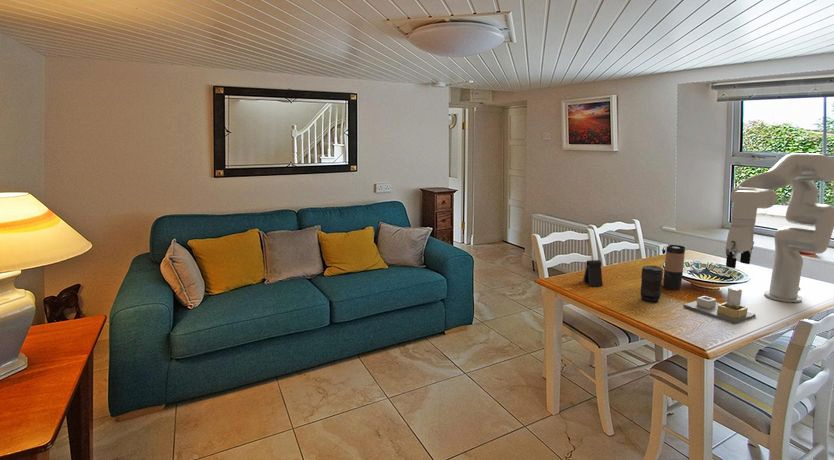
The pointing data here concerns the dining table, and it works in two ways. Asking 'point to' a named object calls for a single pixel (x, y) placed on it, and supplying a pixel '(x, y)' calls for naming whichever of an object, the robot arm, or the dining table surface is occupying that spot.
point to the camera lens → (651, 283)
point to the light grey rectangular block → (734, 298)
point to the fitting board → (719, 310)
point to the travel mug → (674, 267)
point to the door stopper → (593, 273)
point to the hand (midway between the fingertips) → (737, 265)
